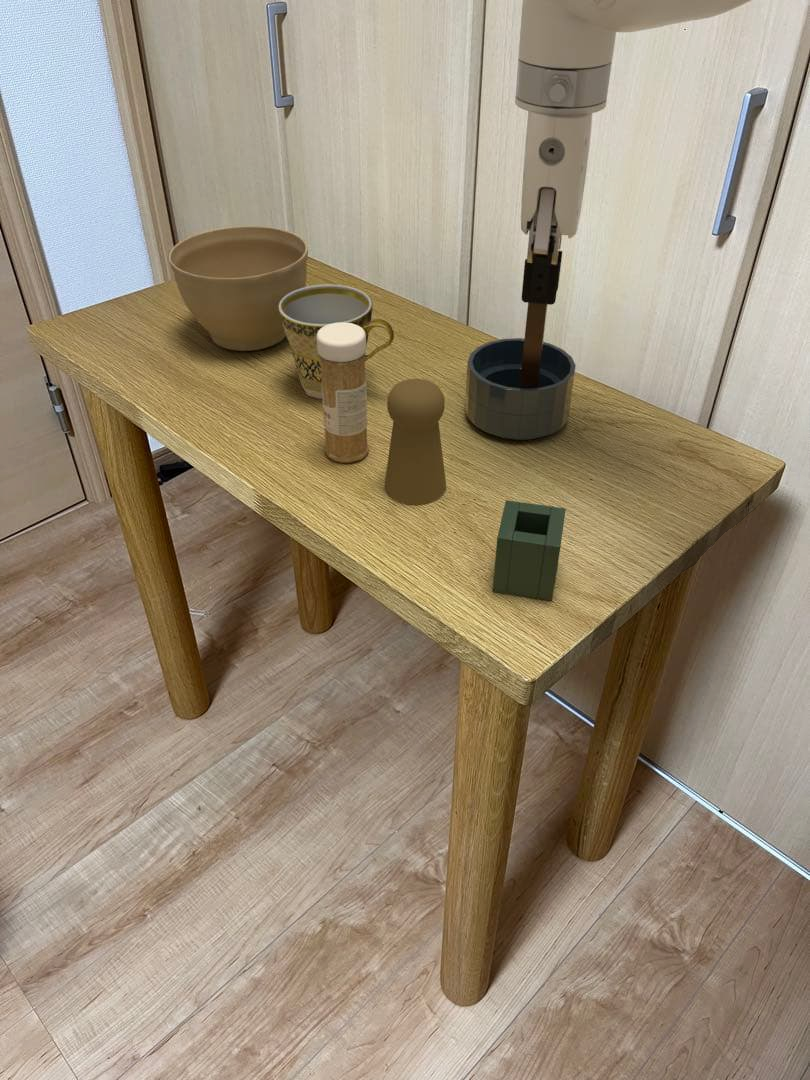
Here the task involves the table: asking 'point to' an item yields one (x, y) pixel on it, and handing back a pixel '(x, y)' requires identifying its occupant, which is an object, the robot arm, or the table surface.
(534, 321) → the stirring stick
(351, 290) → the ceramic cup
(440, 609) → the table surface
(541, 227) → the robot arm
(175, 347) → the table surface
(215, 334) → the planter bowl
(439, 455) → the brown peg doll
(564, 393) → the mixing bowl
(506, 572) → the stick holder
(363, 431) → the sprinkles bottle
